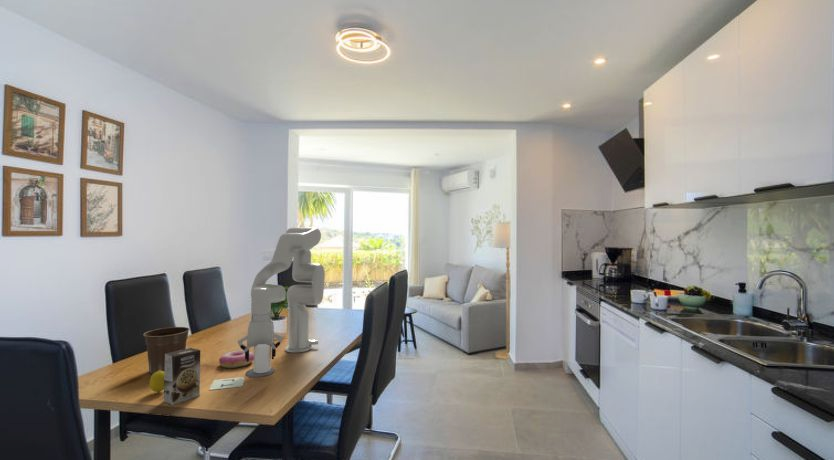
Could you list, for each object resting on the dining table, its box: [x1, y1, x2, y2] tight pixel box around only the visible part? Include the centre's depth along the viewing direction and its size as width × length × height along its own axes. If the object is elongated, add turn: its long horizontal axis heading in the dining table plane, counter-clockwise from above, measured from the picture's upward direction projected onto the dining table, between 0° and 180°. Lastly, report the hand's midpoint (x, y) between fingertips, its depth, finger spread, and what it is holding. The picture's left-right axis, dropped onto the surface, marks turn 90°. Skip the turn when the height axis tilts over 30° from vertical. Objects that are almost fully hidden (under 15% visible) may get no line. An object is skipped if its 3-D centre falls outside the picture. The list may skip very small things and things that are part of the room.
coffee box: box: [163, 347, 201, 406], centre depth 134 cm, size 9×6×16 cm
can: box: [253, 343, 272, 374], centre depth 160 cm, size 6×6×12 cm
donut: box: [218, 349, 254, 369], centre depth 170 cm, size 14×13×5 cm
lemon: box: [149, 370, 164, 394], centre depth 139 cm, size 6×6×8 cm
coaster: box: [245, 367, 276, 378], centre depth 160 cm, size 11×11×1 cm
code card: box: [208, 376, 246, 391], centre depth 148 cm, size 11×10×1 cm
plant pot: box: [142, 326, 191, 375], centre depth 162 cm, size 16×16×16 cm
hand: (260, 359), depth 160 cm, fingers open, 9 cm apart
